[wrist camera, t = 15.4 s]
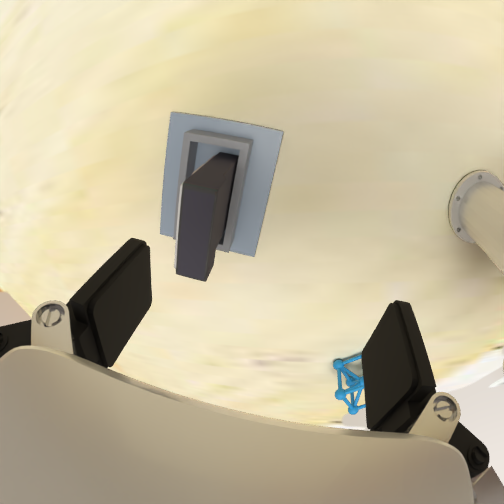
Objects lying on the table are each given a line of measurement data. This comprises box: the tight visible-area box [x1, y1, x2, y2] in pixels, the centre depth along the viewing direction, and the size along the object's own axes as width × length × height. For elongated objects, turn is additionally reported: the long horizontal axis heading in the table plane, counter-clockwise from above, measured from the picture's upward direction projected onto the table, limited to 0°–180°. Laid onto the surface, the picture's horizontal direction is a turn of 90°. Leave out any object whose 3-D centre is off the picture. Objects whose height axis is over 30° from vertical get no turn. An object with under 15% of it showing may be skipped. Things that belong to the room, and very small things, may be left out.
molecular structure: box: [333, 355, 366, 414], centre depth 54 cm, size 10×10×10 cm
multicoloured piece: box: [174, 152, 239, 281], centre depth 36 cm, size 11×4×15 cm, turn 169°
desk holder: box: [160, 112, 284, 257], centre depth 41 cm, size 16×20×4 cm
